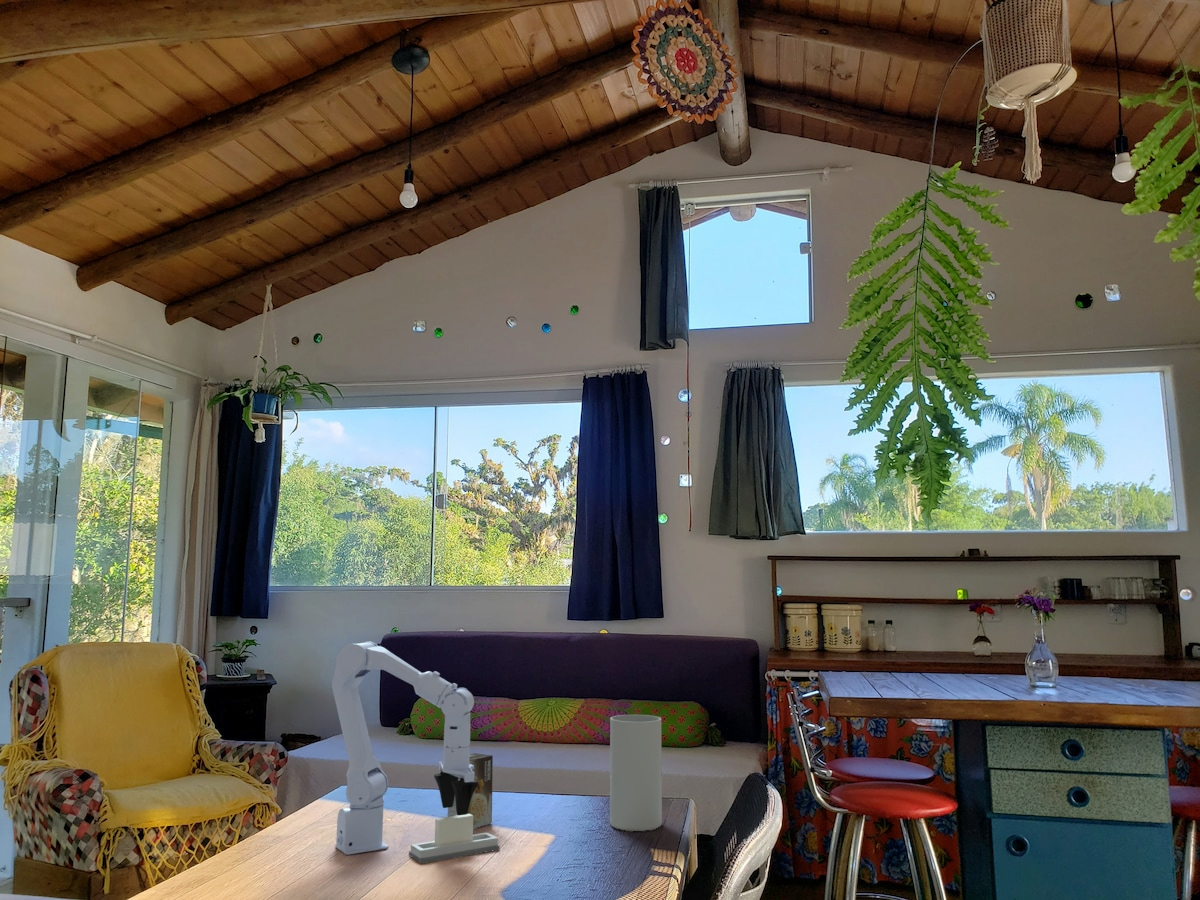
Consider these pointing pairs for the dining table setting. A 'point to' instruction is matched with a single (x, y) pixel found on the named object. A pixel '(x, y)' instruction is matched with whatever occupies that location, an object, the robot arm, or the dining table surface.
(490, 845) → the track base
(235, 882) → the dining table surface
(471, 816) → the door panel
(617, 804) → the cylinder vase
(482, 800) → the coffee box
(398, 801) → the dining table surface
